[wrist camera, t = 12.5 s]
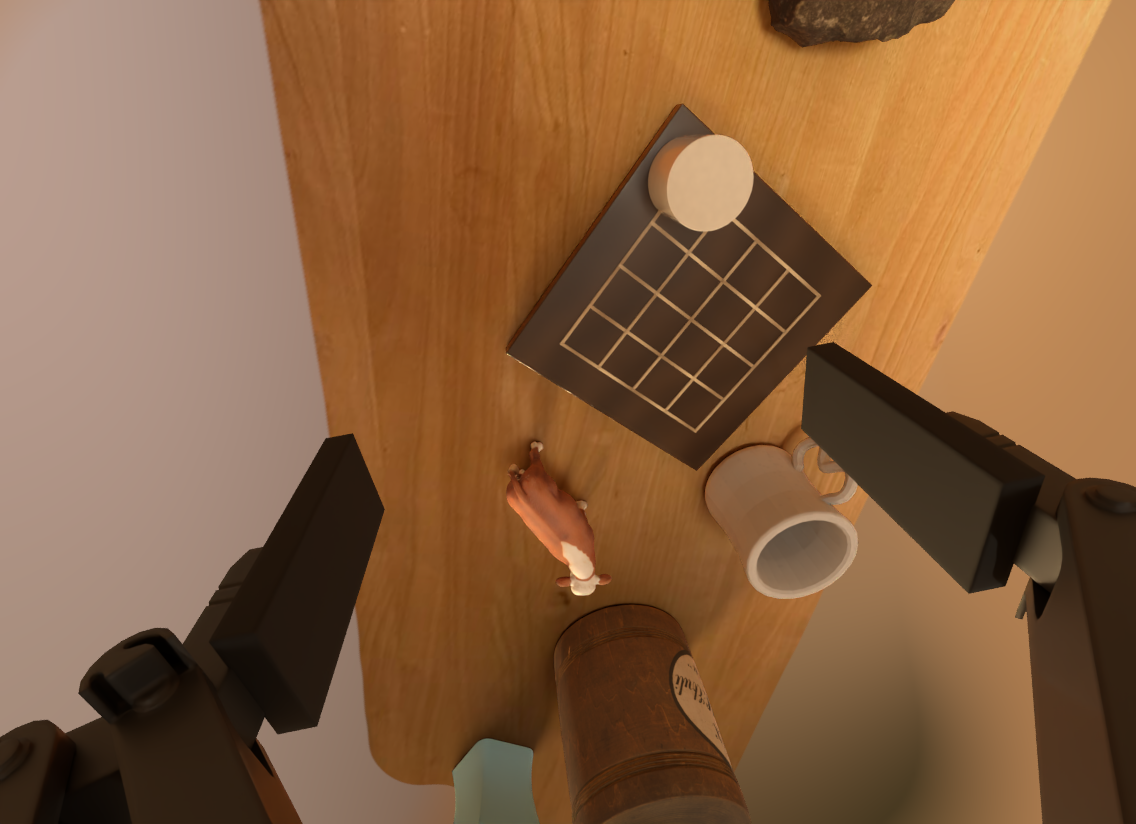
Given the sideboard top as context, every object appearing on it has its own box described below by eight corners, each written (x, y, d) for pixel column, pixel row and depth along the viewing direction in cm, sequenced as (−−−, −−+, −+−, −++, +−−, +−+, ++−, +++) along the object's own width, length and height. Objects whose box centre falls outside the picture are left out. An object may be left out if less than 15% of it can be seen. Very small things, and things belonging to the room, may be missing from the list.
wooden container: (684, 679, 62) (767, 926, 43) (561, 701, 61) (589, 962, 42) (684, 592, 55) (783, 841, 35) (545, 615, 54) (569, 882, 35)
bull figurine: (564, 548, 50) (575, 617, 43) (495, 445, 44) (493, 506, 37) (605, 530, 50) (623, 597, 42) (541, 423, 43) (548, 480, 36)
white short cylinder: (631, 188, 34) (648, 196, 30) (684, 115, 32) (709, 113, 29) (688, 236, 36) (711, 249, 32) (740, 169, 34) (771, 174, 30)
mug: (754, 532, 52) (805, 613, 43) (682, 500, 49) (722, 580, 40) (840, 437, 47) (917, 506, 39) (767, 395, 44) (833, 460, 36)
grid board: (505, 347, 40) (505, 354, 39) (677, 103, 33) (683, 102, 32) (692, 463, 47) (697, 472, 46) (863, 281, 40) (873, 285, 39)
